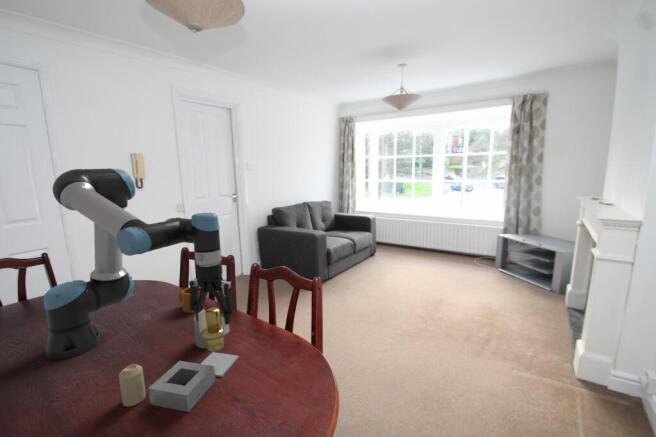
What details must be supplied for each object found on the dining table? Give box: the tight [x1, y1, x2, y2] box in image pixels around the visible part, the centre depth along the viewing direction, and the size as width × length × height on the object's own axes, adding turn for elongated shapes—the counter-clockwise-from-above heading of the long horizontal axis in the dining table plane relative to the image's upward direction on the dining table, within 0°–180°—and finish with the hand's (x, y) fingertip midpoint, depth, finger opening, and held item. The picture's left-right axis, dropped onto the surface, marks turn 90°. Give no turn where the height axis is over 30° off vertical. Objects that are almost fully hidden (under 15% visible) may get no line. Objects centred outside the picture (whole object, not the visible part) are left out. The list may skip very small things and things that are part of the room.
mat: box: [200, 351, 239, 378], centre depth 98 cm, size 10×10×1 cm
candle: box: [118, 362, 147, 408], centre depth 83 cm, size 6×6×10 cm
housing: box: [148, 360, 216, 413], centre depth 86 cm, size 12×12×5 cm
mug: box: [178, 286, 205, 314], centre depth 139 cm, size 9×12×9 cm
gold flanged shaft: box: [202, 306, 226, 353], centre depth 96 cm, size 8×8×13 cm
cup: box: [193, 311, 208, 349], centre depth 111 cm, size 8×8×10 cm
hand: (214, 331), depth 97 cm, fingers closed on gold flanged shaft, 8 cm apart
